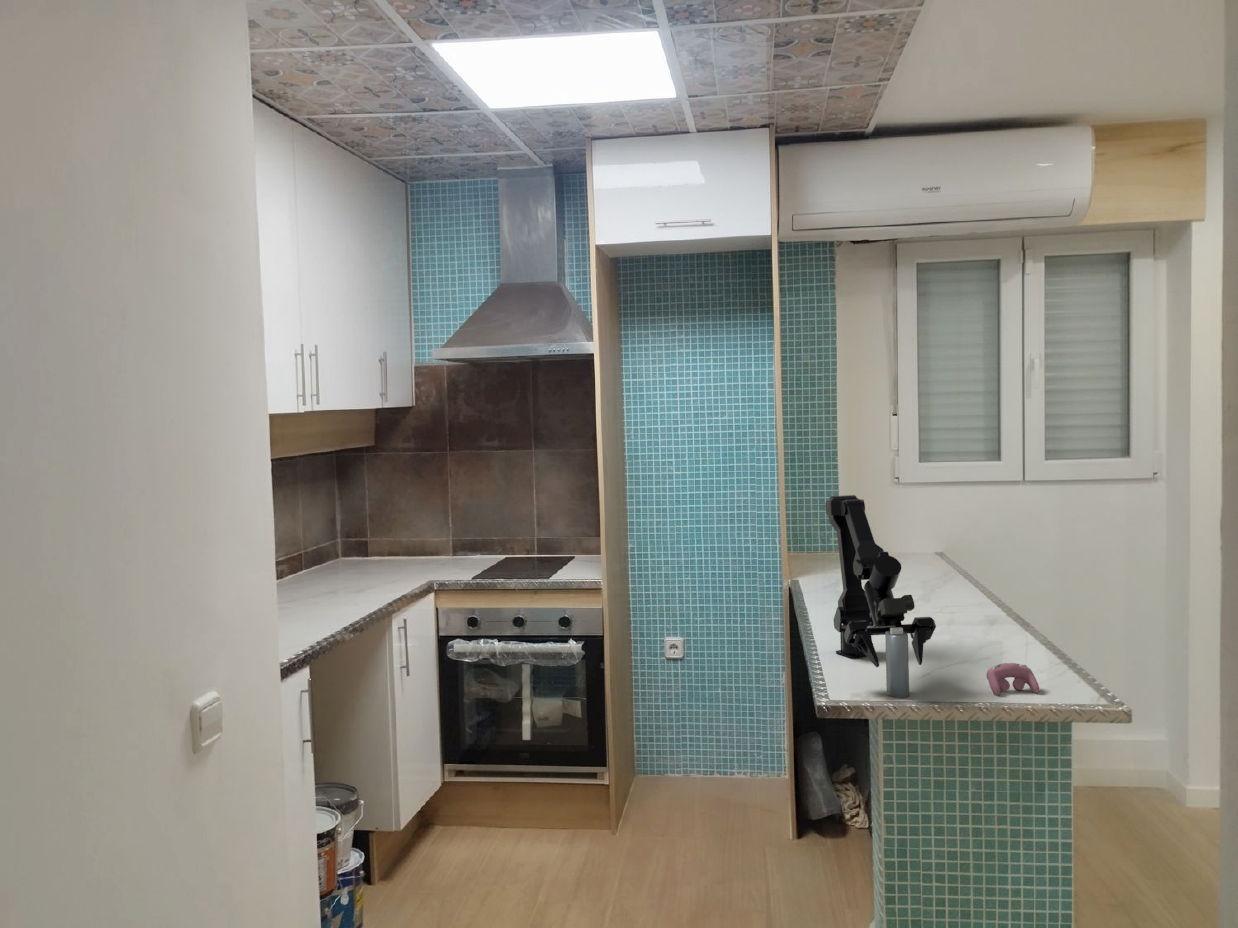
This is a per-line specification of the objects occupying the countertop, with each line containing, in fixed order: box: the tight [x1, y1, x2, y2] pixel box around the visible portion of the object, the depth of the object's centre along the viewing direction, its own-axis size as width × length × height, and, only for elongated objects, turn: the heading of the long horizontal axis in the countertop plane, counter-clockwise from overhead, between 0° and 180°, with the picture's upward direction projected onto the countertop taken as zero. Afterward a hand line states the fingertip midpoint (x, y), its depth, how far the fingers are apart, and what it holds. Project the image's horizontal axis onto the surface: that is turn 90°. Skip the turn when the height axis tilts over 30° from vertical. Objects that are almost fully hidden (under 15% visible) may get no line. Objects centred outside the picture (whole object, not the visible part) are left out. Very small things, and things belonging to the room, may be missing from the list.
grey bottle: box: [884, 627, 910, 699], centre depth 214 cm, size 6×4×14 cm, turn 4°
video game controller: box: [986, 662, 1040, 697], centre depth 214 cm, size 10×5×7 cm, turn 92°
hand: (899, 665), depth 213 cm, fingers open, 9 cm apart
